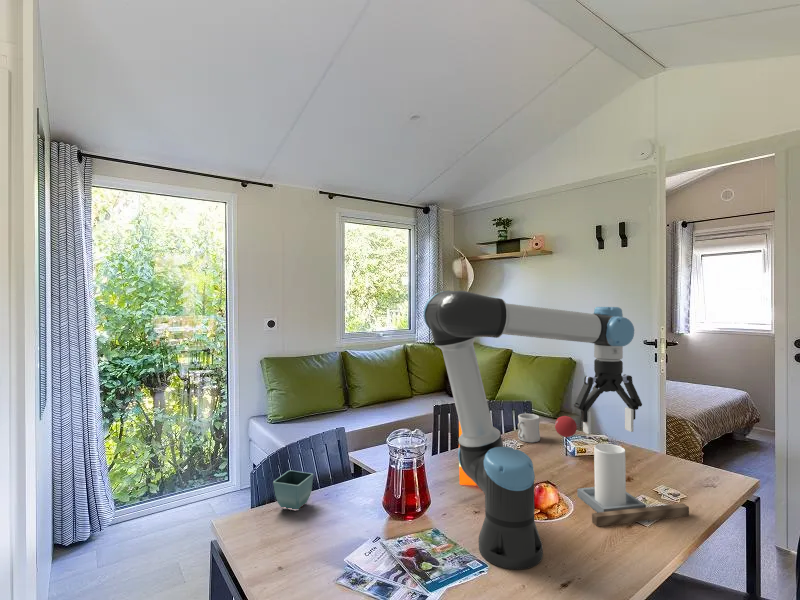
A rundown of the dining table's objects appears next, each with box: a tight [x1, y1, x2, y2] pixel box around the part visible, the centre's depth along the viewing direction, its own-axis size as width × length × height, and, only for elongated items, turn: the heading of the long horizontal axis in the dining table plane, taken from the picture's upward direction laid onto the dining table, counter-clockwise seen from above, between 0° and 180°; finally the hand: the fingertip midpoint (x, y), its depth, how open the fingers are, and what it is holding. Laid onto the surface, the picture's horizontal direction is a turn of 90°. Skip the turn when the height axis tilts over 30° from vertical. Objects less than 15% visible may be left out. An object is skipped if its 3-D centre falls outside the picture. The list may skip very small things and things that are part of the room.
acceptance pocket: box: [576, 486, 647, 513], centre depth 128 cm, size 13×13×2 cm
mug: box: [517, 413, 541, 444], centre depth 184 cm, size 12×9×10 cm
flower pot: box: [272, 469, 314, 510], centre depth 130 cm, size 9×9×9 cm
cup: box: [593, 443, 627, 507], centre depth 128 cm, size 8×8×16 cm
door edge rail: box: [591, 503, 690, 527], centre depth 119 cm, size 28×2×2 cm, turn 99°
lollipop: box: [554, 415, 578, 456], centre depth 166 cm, size 8×8×15 cm
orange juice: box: [458, 421, 477, 486], centre depth 146 cm, size 8×9×20 cm
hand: (608, 431), depth 127 cm, fingers open, 13 cm apart
